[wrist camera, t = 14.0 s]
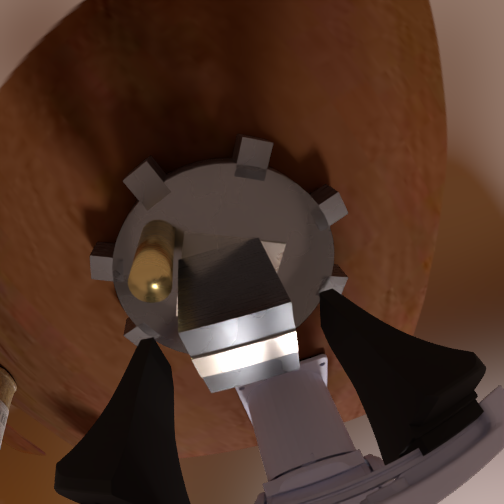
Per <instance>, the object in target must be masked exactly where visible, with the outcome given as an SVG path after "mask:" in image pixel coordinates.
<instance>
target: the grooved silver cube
mask: <svg viewBox="0 0 504 504" xmlns="http://www.w3.org/2000/svg"><path fill="white" fill-rule="evenodd" d="M178 334H179V336H180V338H181V340H182V341H183V343H184V345H185V347H186V349H187V351H188V353H189V354H190V356H191V359H192V362H193V363H194V365H195V367H196V369H197V370H198V372H199V374H200V376H201V377H202V378H203V379H204V381H205V383H206V384H207V386H208V388H209V390H210V391H211V393H213V392H217V391H222V390H226V389H230V388H234V387H238V386H242V385H246V384H250V383H253V382H257V381H261V380H264V379H268V378H271V377H274V376H278V375H281V374H284V373H287V372H291V371H294V370H297V369H300V363H299V355H298V351H299V350H298V343H297V335H296V330H295V324H294V317H293V310H292V303H291V300H290V298H289V296H288V294H287V292H286V290H285V288H284V286H283V284H282V282H281V280H280V278H279V276H278V274H277V272H276V270H275V269H274V267H273V265H272V263H271V261H270V259H269V257H268V255H267V253H266V251H265V249H264V247H263V245H262V243H261V241H260V239H259V237H258V238H255V239H251V240H247V241H244V242H240V243H236V244H233V245H229V246H225V247H222V248H218V249H214V250H211V251H207V252H204V253H200V254H196V255H193V256H189V257H186V258H182V259H179V260H178Z"/></svg>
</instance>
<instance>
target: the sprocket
mask: <svg viewBox="0 0 504 504" xmlns="http://www.w3.org/2000/svg"><path fill="white" fill-rule="evenodd" d="M272 147H273V143H272V142H270V141H268V140H266V139H263V138H258V137H253V136H248V135H242V134H237V136H236V141H235V146H234V150H233V155H232V158H216V159H209V160H203V161H198V162H195V163H191V164H188V165H185V166H182V167H180V168H178V169H176V170H174V171H172V172H170V173H168V174H165V172H164V171H163V170H162V169H161V167H160V166H159V165H158V164H157V162H156V161H155V160H154V159H153V157H152V156H151V155H150V156H149V157H148V158H147V159H145V160H144V161H143V162H142V163H141V164H139V165H138V166H137V167H136V168H135V169H133V170H132V171H131V172H130V173H129V174H128V175H127V176H126V177H125V179H124V180H123V182H124V183H125V185H126V186H127V187H128V188H129V189H130V191H131V192H132V193H133V194H134V195H135V197H136V198H137V199H138V200H137V201H136V203H135V204H134V205H133V207H132V209H131V210H130V212H129V214H128V215H127V217H126V219H125V221H124V223H123V226H122V228H121V230H120V233H119V235H118V238H117V241H116V244H114V243H104V242H97V243H96V245H95V247H94V249H93V250H92V252H91V254H90V266H91V278H92V279H97V280H106V281H114V286H115V289H116V293H117V296H118V298H119V300H120V303H121V305H122V307H123V308H124V310H125V312H126V313H127V315H128V316H129V318H127V320H126V325H125V330H124V336H125V337H126V338H127V339H129V340H130V341H131V342H133V343H134V344H135V345H136V346H138V344H139V342H140V340H142V339H147V338H152V337H154V339H155V341H157V342H159V343H161V344H162V345H164V346H166V347H169V348H171V349H174V350H176V351H180V352H183V353H187V354H189V353H188V351H187V349H186V347H185V345H184V343H183V341H182V340H181V338H180V336H179V334H178V260H179V259H182V258H186V257H189V256H193V255H196V254H200V253H204V252H207V251H211V250H214V249H218V248H222V247H225V246H229V245H233V244H236V243H240V242H244V241H247V240H251V239H255V238H258V237H259V239H260V241H261V243H262V245H263V247H264V249H265V251H266V253H267V255H268V257H269V259H270V261H271V263H272V265H273V267H274V269H275V270H276V272H277V274H278V276H279V278H280V280H281V282H282V284H283V286H284V288H285V290H286V292H287V294H288V296H289V298H290V300H291V303H292V310H293V317H294V324H295V329H296V328H297V327H298V326H299V325H300V324H301V323H302V322H303V321H304V320H305V319H306V318H307V317H308V316H309V315H310V314H311V313H312V312H313V310H314V309H315V308H316V306H317V305H318V303H319V302H320V297H319V292H322V291H326V290H329V289H332V288H333V289H334V290H336V291H337V292H339V293H340V294H341V293H342V291H343V288H344V286H345V284H346V281H347V279H348V277H347V275H346V274H345V273H344V272H343V271H342V269H341V268H340V267H339V266H338V265H336V264H334V244H333V237H332V233H331V230H330V225H332V224H333V223H335V222H336V221H338V220H339V219H341V218H342V217H344V216H345V215H347V214H348V211H347V209H346V207H345V205H344V203H343V201H342V199H341V196H340V194H339V192H338V191H336V190H335V189H333V188H332V187H330V186H329V185H327V184H325V185H323V186H322V187H320V188H319V189H317V190H316V191H314V192H312V193H311V194H308V193H307V192H306V191H305V190H304V189H302V188H301V187H300V186H299V185H297V184H296V183H295V182H294V181H292V180H291V179H290V178H289V177H287V176H286V175H284V174H283V173H281V172H279V171H277V170H276V169H274V168H271V167H269V166H268V163H269V159H270V155H271V151H272ZM297 342H298V340H297Z"/></svg>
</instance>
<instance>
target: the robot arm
mask: <svg viewBox="0 0 504 504" xmlns="http://www.w3.org/2000/svg"><path fill="white" fill-rule="evenodd" d="M319 297H320V318H321V328H322V330H323V332H324V334H325V337H326V339H327V341H328V343H329V345H330V347H331V349H332V351H333V352H334V354H335V355H336V357H337V359H338V360H339V362H340V364H341V365H342V367H343V369H344V370H345V372H346V374H347V375H348V377H349V379H350V380H351V382H352V384H353V386H354V387H355V389H356V391H357V394H358V396H359V398H360V400H361V403H362V405H363V407H364V410H365V412H366V414H367V417H368V419H369V422H370V424H371V427H372V429H373V432H374V435H375V438H376V440H377V443H378V446H379V449H380V452H381V455H382V459H383V460H382V459H381V458H380V457H376V456H373V455H372V454H368V455H366V456H364V457H363V456H362V453H361V451H360V450H359V449H358V450H356V449H355V447H354V444H353V442H352V440H351V438H350V436H349V434H348V431H347V429H346V427H345V425H344V423H343V421H342V419H341V416H340V414H339V412H338V410H337V408H336V406H335V404H334V401H333V399H332V397H331V395H330V393H329V391H328V389H327V362H328V359H327V356H326V355H325V354H321V355H318V356H315V357H312V358H309V359H306V360H303V361H300V362H299V363H300V369H297V370H294V371H291V372H287V373H284V374H281V375H278V376H274V377H271V378H268V379H264V380H261V381H257V382H253V383H250V384H246V385H242V386H238V387H235V388H236V390H237V392H238V394H239V397H240V399H241V401H242V403H243V405H244V407H245V410H246V412H247V414H248V416H249V418H250V420H251V422H252V424H253V427H254V431H255V435H256V439H257V442H258V446H259V450H260V454H261V457H262V461H263V465H264V468H265V472H266V475H267V479H268V482H267V483H263V487H264V491H265V492H263V493H260V494H259V495H258V497H257V499H256V501H255V503H254V504H437V503H438V502H440V501H441V500H443V499H444V498H446V497H447V496H448V495H449V494H451V493H453V492H454V491H455V490H456V489H458V488H459V487H460V486H461V485H463V484H464V483H465V482H467V481H468V480H469V479H470V478H472V477H473V476H474V475H475V474H476V473H477V472H479V471H480V470H481V469H482V468H483V467H484V466H485V465H487V464H488V463H489V462H490V461H491V460H492V459H493V458H494V457H495V456H496V455H497V454H498V453H499V452H500V451H501V450H502V449H503V448H504V389H503V388H502V386H501V385H499V386H498V387H497V388H496V389H494V390H493V391H492V392H491V393H490V394H488V395H487V396H486V397H485V398H484V399H483V400H482V401H481V402H480V403H479V404H478V402H477V401H476V398H477V397H478V396H477V394H476V392H475V391H474V389H475V388H476V387H477V385H478V384H479V382H480V381H481V379H482V377H483V376H484V374H485V371H486V366H485V365H484V364H483V363H482V361H481V360H480V359H479V358H478V357H477V356H476V354H475V353H474V352H469V351H463V350H458V349H452V348H448V347H444V346H440V345H436V344H433V343H430V342H427V341H424V340H421V339H419V338H416V337H414V336H411V335H409V334H406V333H404V332H402V331H400V330H398V329H396V328H394V327H392V326H390V325H388V324H386V323H384V322H383V321H381V320H379V319H377V318H376V317H374V316H373V315H371V314H369V313H368V312H366V311H365V310H363V309H362V308H360V307H359V306H357V305H356V304H354V303H353V302H351V301H350V300H349V299H347V298H346V297H344V296H343V295H341V294H340V293H339V292H337V291H336V290H334V289H333V288H332V289H329V290H326V291H322V292H319ZM395 478H396V479H395ZM394 479H395V480H394ZM54 489H55V491H56V492H57V493H58V494H60V495H62V496H64V497H66V498H68V499H70V500H73V501H75V502H77V503H80V504H190V501H189V498H188V495H187V492H186V488H185V484H184V480H183V476H182V472H181V468H180V463H179V458H178V453H177V447H176V441H175V430H174V386H173V378H172V371H171V366H170V364H169V362H168V361H167V359H166V358H165V356H164V354H163V353H162V351H161V349H160V348H159V346H158V344H157V343H156V341H155V339H154V337H152V338H147V339H142V340H140V342H139V344H138V346H137V348H136V350H135V352H134V354H133V356H132V359H131V361H130V363H129V365H128V367H127V369H126V371H125V373H124V375H123V377H122V379H121V381H120V383H119V385H118V387H117V389H116V391H115V393H114V394H113V396H112V398H111V400H110V401H109V403H108V405H107V406H106V408H105V409H104V411H103V412H102V414H101V415H100V417H99V418H98V420H97V421H96V422H95V424H94V425H93V426H92V427H91V429H90V430H89V431H88V433H87V434H86V435H85V436H84V437H83V438H82V440H81V441H80V442H79V443H78V444H77V445H76V446H75V447H74V448H73V449H72V450H71V451H70V452H69V453H68V454H67V455H66V456H65V457H63V458H62V459H61V460H60V461H59V462H58V463H57V464H56V473H55V484H54Z"/></svg>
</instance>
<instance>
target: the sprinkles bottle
mask: <svg viewBox="0 0 504 504" xmlns="http://www.w3.org/2000/svg"><path fill="white" fill-rule="evenodd" d="M16 388H17V385H16V383H15V381H14V379H13V378H12V377H11V376H10V375H9V373H8V372H7V371H5V370H4V369H3V368H1V367H0V448H1V443H2V438H3V434H4V429H5V425H6V421H7V417H8V414H9V407H10V404H11V401H12V397H13V394H14V392H15V391H16Z"/></svg>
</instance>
